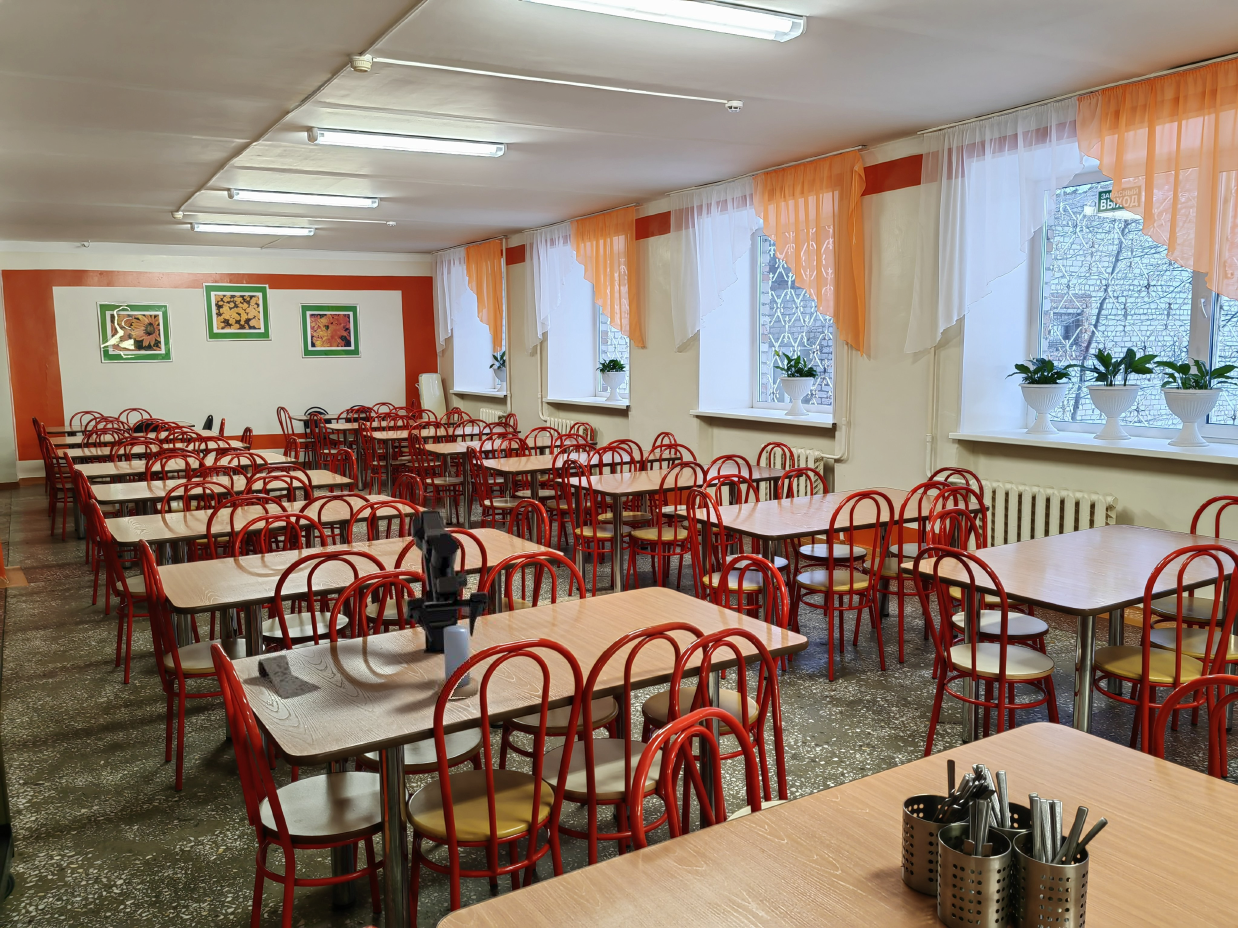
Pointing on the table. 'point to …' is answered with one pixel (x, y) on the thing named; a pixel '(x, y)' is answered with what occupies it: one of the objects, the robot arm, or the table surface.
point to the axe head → (284, 677)
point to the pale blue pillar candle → (456, 651)
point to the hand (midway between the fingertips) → (451, 637)
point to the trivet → (461, 689)
